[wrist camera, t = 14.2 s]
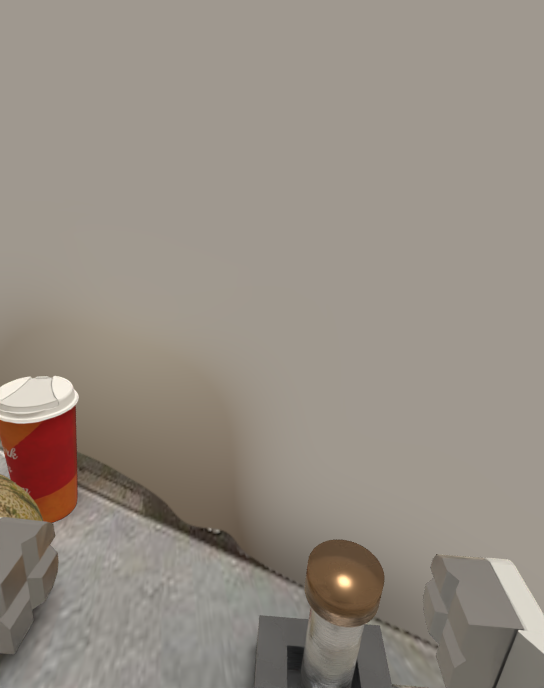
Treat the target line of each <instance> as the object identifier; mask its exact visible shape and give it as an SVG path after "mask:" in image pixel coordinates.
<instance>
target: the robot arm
mask: <svg viewBox="0 0 544 688" xmlns="http://www.w3.org/2000/svg"><path fill="white" fill-rule="evenodd" d="M54 537H55V532H54V526H53V524H52V523H50V522H45V521H36V520H27V519H18V518H9V517H0V653H3V654H15V653H16V651H17V649H18V648H19V646H20V644H21V642H22V641H23V639H24V637H25V635H26V634H27V632H28V630H29V628H30V627H31V625H32V623H33V622H34V621H33V614H32V610H33V609H34V608H36V607H37V606H39V605H40V604H42V603H43V602H44V601H46V599H47V597H48V595H49V593H50V591H51V590H52V588H53V585H54V581H55V578H56V575H57V571H58V553H57V551H56V550H55V549H54V548H53V547H52V546H51V545H50V544H51V542H52V540H53V539H54ZM430 568H431V571H432V574H433V577H434V578H433V579H432V580H430V581H429V582H428V583H426V586H425V591H424V595H423V610H424V616H425V622H426V625H427V629H428V632H429V634H430V635H431V636H432V637H433V639H434V640H435V641H436V642H437V643H438V644H439V646H438V650H437V653H436V658H437V662H438V665H439V668H440V671H441V674H442V678H443V681H444V684H445V687H446V688H544V614H543V613H542V611H541V609H540V608H539V606H538V604H537V603H536V601H535V599H534V597H533V596H532V594H531V592H530V590H529V589H528V587H527V585H526V584H525V582H524V580H523V579H522V577H521V575H520V573H519V572H518V570H517V568H516V567H515V565H514V564H513V563H512V562H511V561H510V560H506V559H494V558H479V557H466V556H453V555H439V554H436V556H435V557H434V558H433V560H432V564H431V567H430Z"/></svg>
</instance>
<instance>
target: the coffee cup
mask: <svg viewBox="0 0 544 688" xmlns="http://www.w3.org/2000/svg"><path fill="white" fill-rule="evenodd" d="M52 379H53V380H52ZM78 398H79V397H78V394H77V392H76V391H75V390H74V388H73V385H72V384H71V383H70V382H69V381H68V380H67V379H65V378H62V377H58V376H54V377H53V378H49V377H48V376H42V377H36V378H31V377H25V378H21V379H17V380H14V381H12V382H9V383H7V384H5V385H3V386H1V387H0V438H1V442H2V446H3V450H4V454H5V458H6V462H7V466H8V470H9V474H10V478H11V480H12V481H13V482H14V483H16V484H17V485H18V486H20V487H21V488H23V489H24V490H25V491H26V492H27V493H28V494H29V495H30V496H31V497H32V499H33V500H34V501H35V503H36V504H37V506H38V508H39V510H40V513H41V515H42V518H43V521H45V522H50V523H52V522H55V521H58V520H60V519H62V518H64V517H66V516H67V515H68V514H70V513H71V512H72V511H73V509H74V508H75V506H76V504H77V444H76V407H75V406H76V404H77V402H78Z"/></svg>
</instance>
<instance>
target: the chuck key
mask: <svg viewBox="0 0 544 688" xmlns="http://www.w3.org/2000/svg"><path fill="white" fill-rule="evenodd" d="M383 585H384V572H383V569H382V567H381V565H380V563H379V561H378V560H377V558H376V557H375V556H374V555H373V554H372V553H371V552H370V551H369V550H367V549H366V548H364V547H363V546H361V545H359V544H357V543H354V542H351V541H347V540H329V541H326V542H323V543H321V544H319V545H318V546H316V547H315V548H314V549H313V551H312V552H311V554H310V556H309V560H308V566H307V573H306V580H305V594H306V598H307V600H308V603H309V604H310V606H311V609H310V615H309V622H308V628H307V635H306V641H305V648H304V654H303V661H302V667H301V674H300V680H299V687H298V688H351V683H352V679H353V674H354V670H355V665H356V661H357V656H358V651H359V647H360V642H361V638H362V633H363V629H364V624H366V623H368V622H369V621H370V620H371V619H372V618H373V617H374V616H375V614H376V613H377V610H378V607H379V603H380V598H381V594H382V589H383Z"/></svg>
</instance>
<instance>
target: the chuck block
mask: <svg viewBox="0 0 544 688" xmlns="http://www.w3.org/2000/svg"><path fill="white" fill-rule="evenodd" d="M308 622H309V620H308V619H296V618H285V617H273V616H261V615H260V616H259V627H258V638H257V650H256V665H255V680H254V688H298V687H299V680H300V674H301V667H302V661H303V654H304V648H305V641H306V635H307V628H308ZM351 688H428V687H417V686H406V685H394V684H392V683H391V679H390V674H389V669H388V664H387V659H386V654H385V649H384V644H383V639H382V634H381V629H380V626H378V625H366V624H364V629H363V633H362V638H361V642H360V647H359V651H358V656H357V661H356V665H355V670H354V674H353V679H352V683H351Z"/></svg>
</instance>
